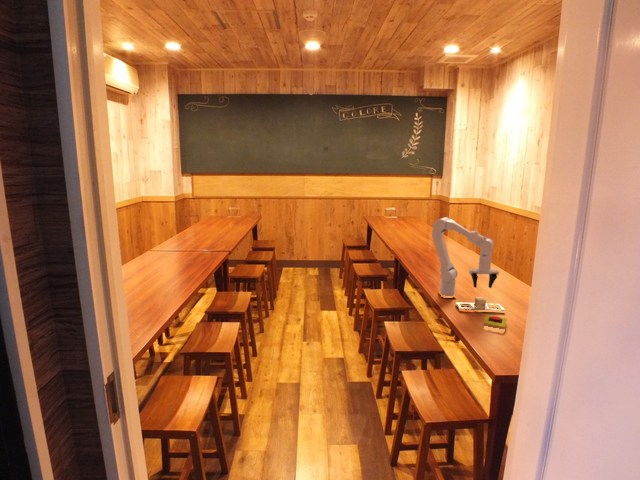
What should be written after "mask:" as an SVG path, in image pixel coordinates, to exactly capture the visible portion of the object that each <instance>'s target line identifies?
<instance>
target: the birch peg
mask: <svg viewBox="0 0 640 480" xmlns="http://www.w3.org/2000/svg"><path fill="white" fill-rule="evenodd" d="M474 303H475V306H476V307H477V308H485V306H486V303H487V299H486V298H485V297H483V296H482V297H481V296H480V297H479V296H475V299H474Z"/></svg>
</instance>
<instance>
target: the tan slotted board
mask: <svg viewBox="0 0 640 480" xmlns="http://www.w3.org/2000/svg"><path fill="white" fill-rule="evenodd" d="M456 304H457V306H458V307H459V308H460V309H465V310H467V309H468V310H469V309H471V310H501V311H505V312H506V309H505V308H504V307H503V306H502V305H501V304H500V303H487V302H486V306H485V307H486V308H476V307H475V306H474V305H475V302H458V301H457V302H455V305H456ZM460 304H462V305H471V307H472V308H470V307H461V305H460ZM488 305H498V306H499V307H500V309H497V308H490V307H489V306H488Z"/></svg>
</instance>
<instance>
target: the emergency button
mask: <svg viewBox="0 0 640 480" xmlns="http://www.w3.org/2000/svg"><path fill="white" fill-rule="evenodd" d="M507 321H508V319H507V318H506V317H501V316H497V315H496V316H495V315H492V314H491V315H490V314H486V316H485V318H484V321H483V326H488V327H493V328H499V329H505V327H506V328H507V325H506V322H507Z"/></svg>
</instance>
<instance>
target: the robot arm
mask: <svg viewBox="0 0 640 480" xmlns="http://www.w3.org/2000/svg"><path fill="white" fill-rule="evenodd" d="M451 230H452V231H454V232H457V233H458V234H461V235H462V236H463V237H466V240H467V241H469V242H470V243H471V244H473V245H475V246H477V247H478V248H479V249H480V250H479V251H480V253H479V260H478V268H475V269H472V268H471V269H468V274H470V276H471V279H472V282H473V287H474V288H475V289H476V288H477V283H478V278H479V276H478V275H488V277H489V281H488V288H489V289H492V287H493V284H494V283H495V281H496V279H497V278H498V276H499V275H500V271H499V270H497V269H496V270H495V269H491V266H492V258H493V257H492V256H493V248H494V247H495V241H494V240H493V239H492V238H490V237H489V238H488V237H487V236H483V235H482V234H480V233H479V231H477V230H476V231H475V230H471V231H470V230H469V229H467V228H466V227H465V226H463V225H461V224H459V223H457V222H456V221H455V220H454V219H451V218H449V217H448V216H445V217H442V218H438V219H436V220H435V221H434V222H433V224H432V233H431V237H432V241H433V243H434V247H435V250H436V254H437V256H438V259H439V263H440V269H439V270H440V280H441V281H440V285H439V292H440V291H441V294H442V295H445V296H453V295H455V292H456V278H457V277H458V275H459V274H458V271H457V269H456V268H455V266H454V264H452V261H451V259H450V256H449V253H448V250H447V246H446V243H445V241H444V240H445V239H444V234H445V232H446V231H451Z"/></svg>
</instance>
